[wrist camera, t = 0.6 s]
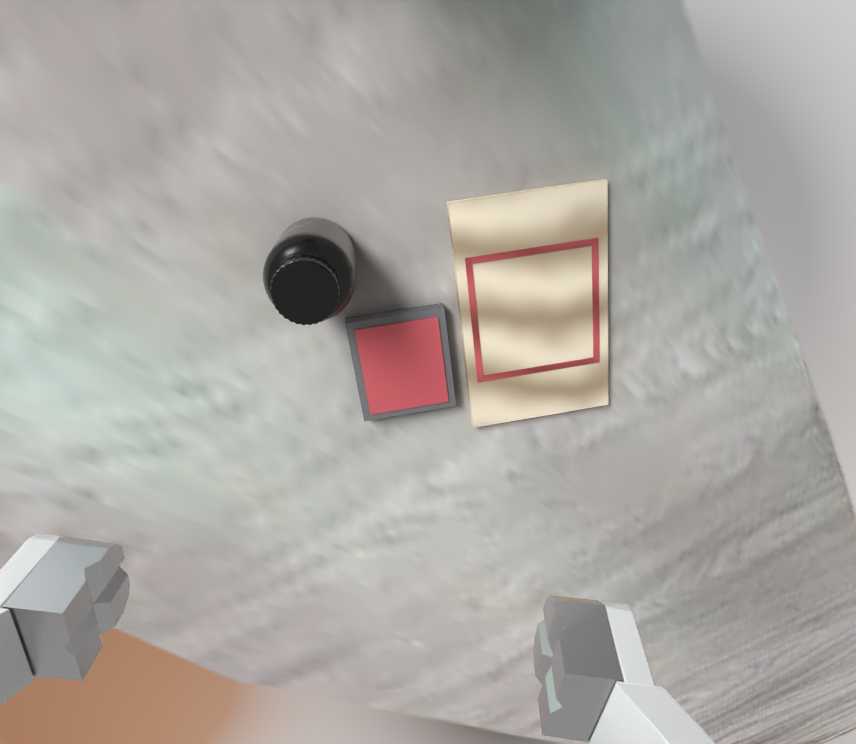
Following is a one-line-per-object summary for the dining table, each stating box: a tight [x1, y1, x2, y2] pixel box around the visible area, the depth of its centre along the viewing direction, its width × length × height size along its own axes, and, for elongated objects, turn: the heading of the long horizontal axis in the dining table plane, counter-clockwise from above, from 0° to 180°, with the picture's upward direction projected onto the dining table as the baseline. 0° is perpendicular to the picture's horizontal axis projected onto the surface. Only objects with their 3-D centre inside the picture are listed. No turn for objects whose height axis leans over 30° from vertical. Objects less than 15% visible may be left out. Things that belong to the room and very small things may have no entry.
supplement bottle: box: [263, 218, 356, 325], centre depth 46 cm, size 7×7×12 cm
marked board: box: [447, 179, 608, 428], centre depth 55 cm, size 22×14×1 cm, turn 7°
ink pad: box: [346, 303, 456, 421], centre depth 55 cm, size 10×9×2 cm
